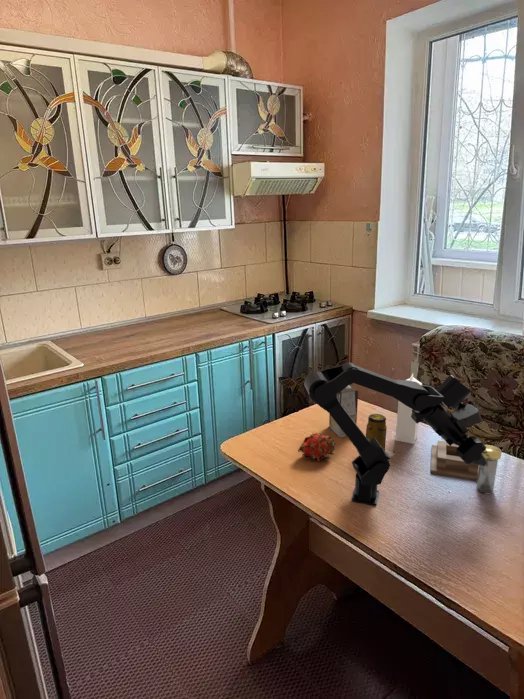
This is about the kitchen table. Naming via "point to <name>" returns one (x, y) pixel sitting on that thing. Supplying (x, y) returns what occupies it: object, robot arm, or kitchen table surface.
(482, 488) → the pin
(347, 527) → the kitchen table surface
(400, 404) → the milk
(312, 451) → the dragon fruit
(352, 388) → the coffee box
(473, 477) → the block
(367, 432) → the condiment
